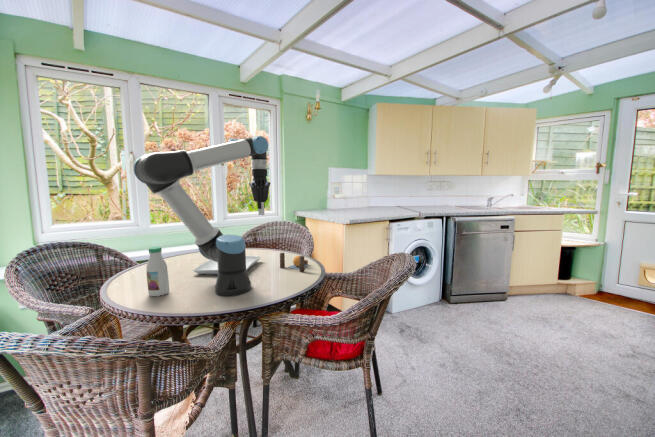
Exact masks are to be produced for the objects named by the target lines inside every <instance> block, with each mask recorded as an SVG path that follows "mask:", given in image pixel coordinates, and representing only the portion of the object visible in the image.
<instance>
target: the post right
mask: <svg viewBox="0 0 655 437" xmlns="http://www.w3.org/2000/svg"><path fill="white" fill-rule="evenodd" d="M298 256H299V269H300V270H299V273H305V272H304V271H305V268H306V267H304V260H305V255H298Z"/></svg>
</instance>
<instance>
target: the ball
mask: <svg viewBox="0 0 655 437" xmlns="http://www.w3.org/2000/svg"><path fill="white" fill-rule="evenodd" d="M299 256H300V255H296V256H294V258H293V259H292V260H293V261H292V263H293V265H295V266H297V267H299Z"/></svg>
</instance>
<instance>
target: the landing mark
mask: <svg viewBox="0 0 655 437" xmlns="http://www.w3.org/2000/svg"><path fill="white" fill-rule="evenodd" d="M308 266H309V264H308V265H304V267H305V268H307V267H308ZM287 268H289V269H293V270H299V271H300V269H299V267H297V266H295V265H294V264H292V265H289V266H288V267H287Z"/></svg>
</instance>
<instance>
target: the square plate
mask: <svg viewBox="0 0 655 437" xmlns="http://www.w3.org/2000/svg"><path fill="white" fill-rule="evenodd" d="M261 258H262V256H256V255H255V256H254V255H253V256H252V255H251V256H250V255H246V271H248V270H249V269H250V268H251V267H252V266H254V265H255V264H256V263H257V262H259V260H260V259H261ZM192 271H193V273H196V274H199V275H200V274H201V275H218V262H215V261H213V260H210V259H208V261H205V262H204V263H202V264H200V265H199V266H197V267H195V268H193V269H192Z"/></svg>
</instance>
